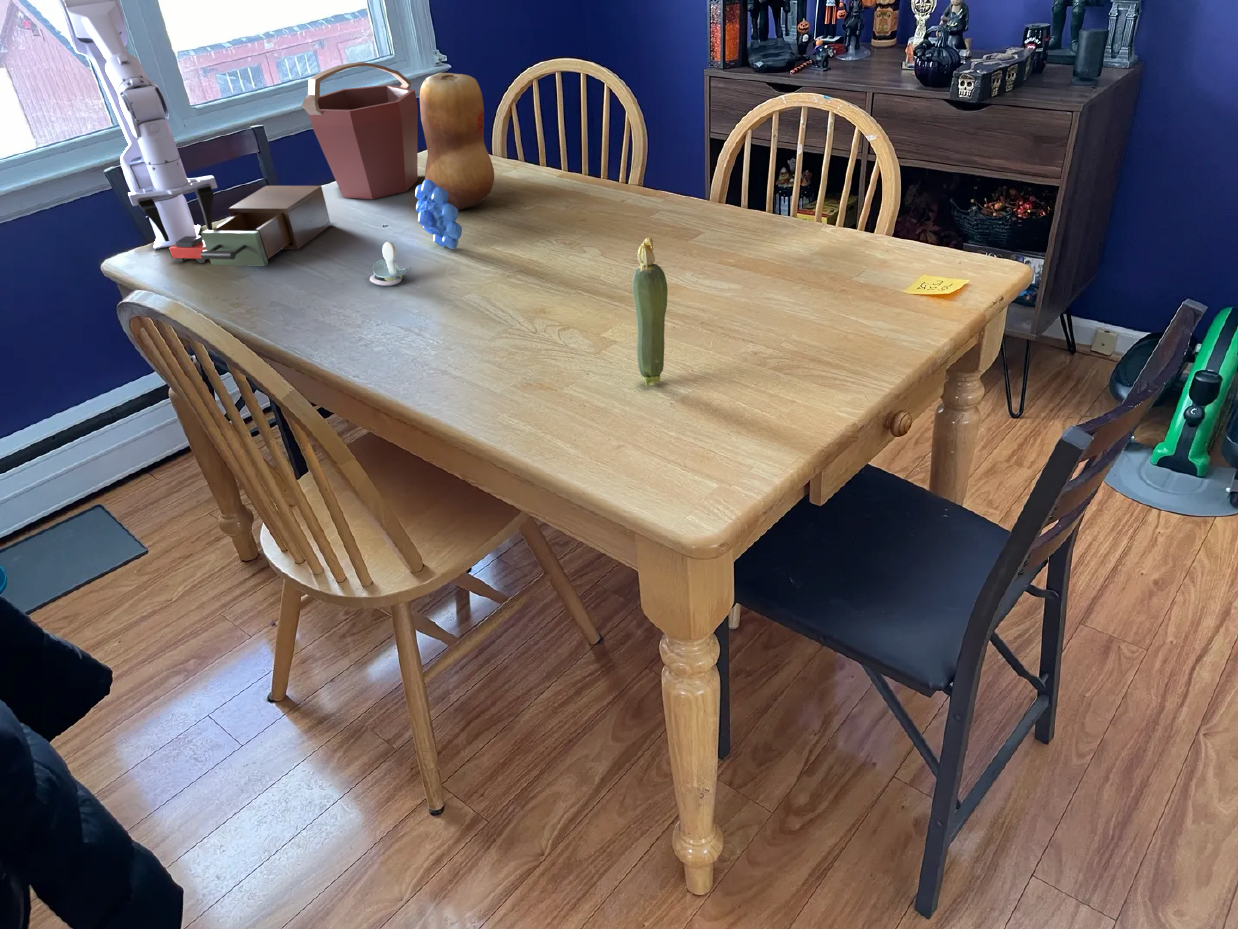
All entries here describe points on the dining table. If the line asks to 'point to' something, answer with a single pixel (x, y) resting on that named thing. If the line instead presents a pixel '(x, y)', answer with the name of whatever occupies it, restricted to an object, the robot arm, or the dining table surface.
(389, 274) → the pacifier
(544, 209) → the dining table surface
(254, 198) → the cabinet
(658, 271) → the vegetable
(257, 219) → the drawer
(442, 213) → the grapes
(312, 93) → the bucket
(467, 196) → the butternut squash
